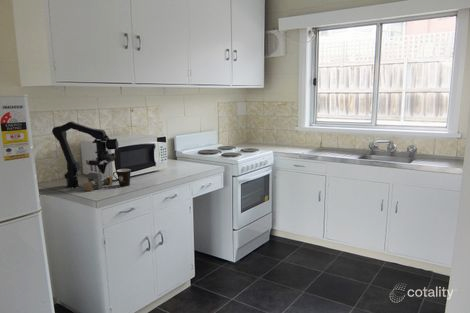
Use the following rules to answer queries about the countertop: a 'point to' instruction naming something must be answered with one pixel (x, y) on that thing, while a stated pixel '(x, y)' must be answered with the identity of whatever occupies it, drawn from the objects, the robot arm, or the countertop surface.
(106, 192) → the countertop surface
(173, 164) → the countertop surface
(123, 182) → the coffee mug
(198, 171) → the countertop surface
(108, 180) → the metal shaft
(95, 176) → the collar
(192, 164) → the countertop surface
